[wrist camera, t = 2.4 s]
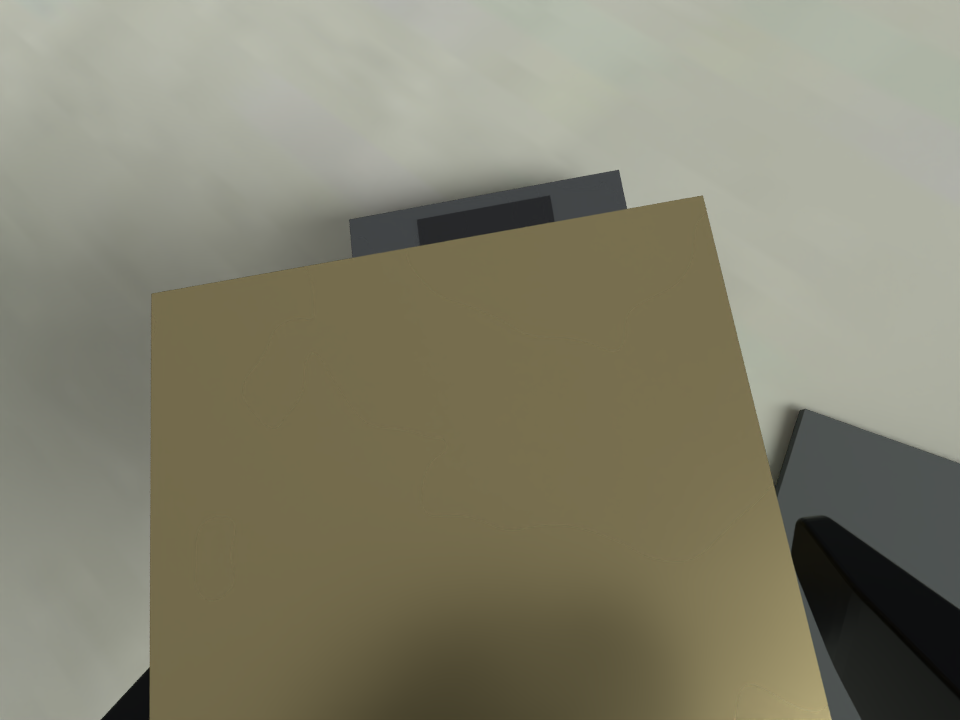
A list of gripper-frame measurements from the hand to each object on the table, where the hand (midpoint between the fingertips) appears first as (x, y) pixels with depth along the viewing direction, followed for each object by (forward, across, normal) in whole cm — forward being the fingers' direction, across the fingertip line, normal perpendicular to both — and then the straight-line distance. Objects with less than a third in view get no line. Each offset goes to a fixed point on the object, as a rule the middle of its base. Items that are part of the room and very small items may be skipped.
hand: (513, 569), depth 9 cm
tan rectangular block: (+7, 0, +6) cm, 10 cm away
